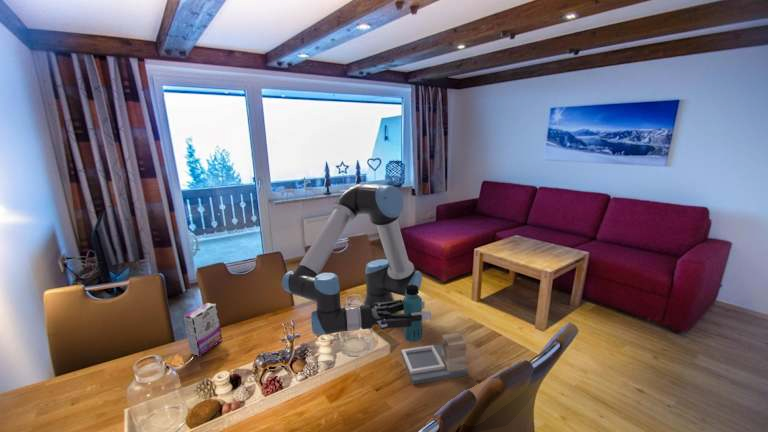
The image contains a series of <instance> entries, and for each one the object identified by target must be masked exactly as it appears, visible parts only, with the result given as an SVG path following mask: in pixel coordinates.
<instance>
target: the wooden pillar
mask: <svg viewBox="0 0 768 432" xmlns="http://www.w3.org/2000/svg"><path fill="white" fill-rule="evenodd" d="M441 345H442V362H443V364H444V365H445V367H446V369H447V371H448V372H453V371H459V370H465V367H466V357H467V356H466V354H467V342H466V340H465V339H464V338H463V337H462V335H461V334H460V333H459V332H455V333H454V332H453V333H449V334H448V333H447V334H443V335H441Z"/></svg>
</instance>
